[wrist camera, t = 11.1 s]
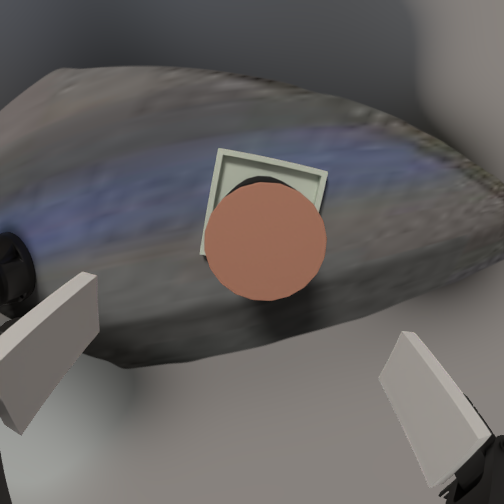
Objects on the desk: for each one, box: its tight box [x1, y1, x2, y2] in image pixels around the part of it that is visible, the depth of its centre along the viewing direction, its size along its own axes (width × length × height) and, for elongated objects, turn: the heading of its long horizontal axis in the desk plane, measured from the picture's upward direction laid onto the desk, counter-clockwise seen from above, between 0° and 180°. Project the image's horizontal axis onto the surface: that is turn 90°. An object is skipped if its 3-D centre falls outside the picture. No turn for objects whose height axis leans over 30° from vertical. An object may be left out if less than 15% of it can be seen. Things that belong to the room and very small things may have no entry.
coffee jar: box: [204, 176, 327, 301], centre depth 33 cm, size 11×11×18 cm
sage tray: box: [200, 148, 328, 255], centre depth 41 cm, size 16×16×2 cm
